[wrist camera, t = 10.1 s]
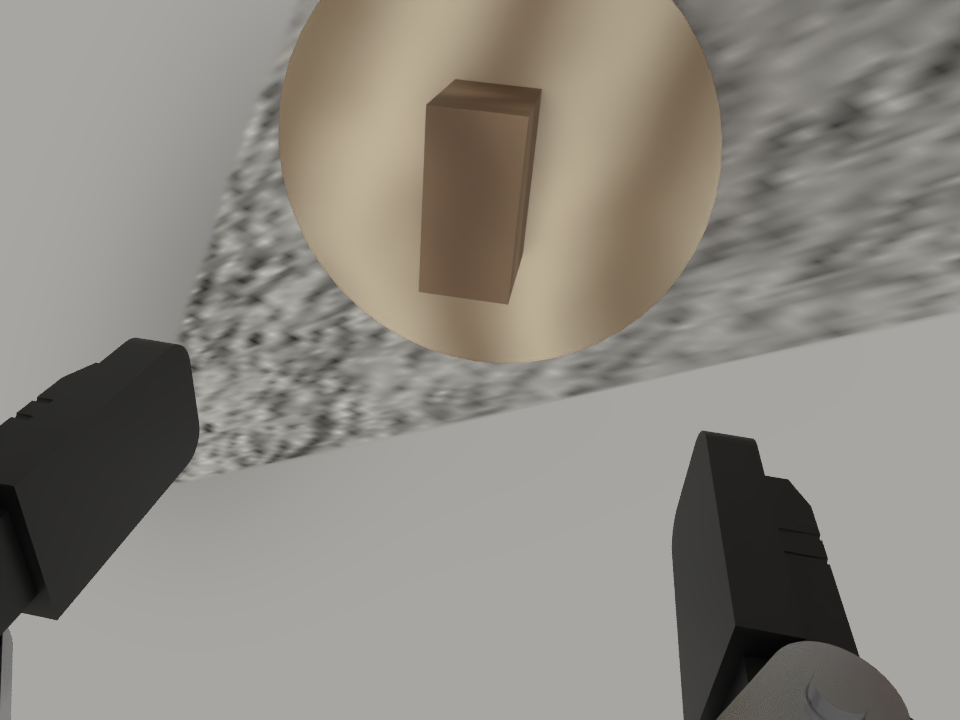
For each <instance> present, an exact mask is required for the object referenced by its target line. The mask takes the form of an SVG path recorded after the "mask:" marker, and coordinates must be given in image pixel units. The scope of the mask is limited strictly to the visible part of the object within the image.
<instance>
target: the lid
mask: <svg viewBox="0 0 960 720" xmlns="http://www.w3.org/2000/svg"><path fill="white" fill-rule="evenodd" d="M279 150H280V159H281V167H282V174H283V178H284V182H285V186H286V190H287V194H288V198H289V201H290V204H291V207H292V209H293V212H294V215H295V217H296V220H297V223H298V225H299V227H300V229H301V231H302V233H303V235H304V237H305V239H306V241H307V243H308V245H309V247H310V249H311V250H312V252H313V253H314V255H315V256H316V258H317V259H318V261H319V262H320V264H321V265H322V267H323V268H324V270H325V271H326V272H327V274H328V275H329V276H330V277H331V278H332V280H333V281H334V282H335V283H336V284H337V285H338V287H339V288H340V289H341V290H342V291H343V292H344V293H345V294H346V295H347V296H348V297H349V298H350V299H351V300H352V301H353V302H354V303H355V304H356V305H357V306H358V307H359V308H361V309H362V310H363V311H364V312H366V313H367V314H368V315H370V316H371V317H372V318H374V319H375V320H376V321H378V322H379V323H380V324H382V325H383V326H385V327H387V328H388V329H390V330H392V331H393V332H395V333H397V334H398V335H400V336H402V337H403V338H405V339H408V340H410V341H412V342H414V343H416V344H419V345H421V346H423V347H425V348H428V349H431V350H434V351H437V352H440V353H443V354H446V355H449V356H454V357H458V358H463V359H468V360H473V361H482V362H492V363H525V362H532V361H539V360H547V359H552V358H555V357H559V356H563V355H567V354H571V353H574V352H577V351H579V350H582V349H584V348H587V347H590V346H592V345H595V344H597V343H599V342H601V341H603V340H605V339H607V338H608V337H610V336H612V335H614V334H616V333H618V332H619V331H621V330H622V329H624V328H625V327H627V326H628V325H630V324H631V323H632V322H634V321H635V320H637V319H638V318H639V317H641V316H642V315H643V314H644V313H645V312H646V311H648V310H649V309H650V308H651V307H652V306H653V305H654V304H655V303H656V302H657V301H658V300H659V299H661V298H662V296H663V295H664V294H665V293H666V292H667V291H668V289H669V288H670V287H671V286H672V285H673V283H674V282H675V281H676V280H677V279H678V278H679V276H680V275H681V273H682V272H683V270H684V268H685V267H686V265H687V264H688V262H689V261H690V259H691V258H692V256H693V254H694V253H695V251H696V249H697V247H698V244H699V242H700V240H701V238H702V236H703V234H704V232H705V230H706V228H707V225H708V222H709V218H710V215H711V212H712V209H713V206H714V203H715V200H716V195H717V189H718V184H719V178H720V172H721V158H722V129H721V119H720V108H719V103H718V99H717V95H716V90H715V86H714V82H713V78H712V74H711V72H710V69H709V66H708V64H707V61H706V59H705V56H704V54H703V51H702V48H701V46H700V44H699V42H698V40H697V38H696V37H695V35H694V33H693V31H692V29H691V28H690V26H689V24H688V22H687V21H686V19H685V17H684V15H683V14H682V13H681V11H680V10H679V9H678V7H677V6H676V5H675V4H674V2H673V1H672V0H320V2H319V3H318V4H317V6H316V7H315V9H314V11H313V12H312V14H311V16H310V17H309V19H308V21H307V23H306V24H305V26H304V28H303V29H302V31H301V34H300V36H299V38H298V41H297V43H296V46H295V48H294V50H293V53H292V55H291V58H290V61H289V65H288V69H287V72H286V76H285V80H284V84H283V88H282V95H281V103H280V111H279Z"/></svg>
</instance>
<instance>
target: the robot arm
mask: <svg viewBox="0 0 960 720" xmlns="http://www.w3.org/2000/svg"><path fill="white" fill-rule="evenodd" d="M198 439H199V419H198V413H197V406H196V399H195V392H194V385H193V378H192V371H191V365H190V359H189V355H188V352H187V351H186V349H185V348H184V347H183V346H181V345H178V344H171V343H165V342H159V341H153V340H146V339H140V338H132V339H130V340H128V341H126V342H125V343H124V344H123V345H121V346H120V347H119V348H118V349H116V350H115V351H114V352H113V353H111V354H110V355H109V356H108V357H106V358H105V359H104V360H103V361H101V362H100V363H94V364H92V365H90V366H87V367H85V368H83V369H81V370H78V371H76V372H74V373H71V374H69V375H67V376H65V377H63V378H61V379H60V380H58V381H57V382H56V383H55V384H53V385H52V386H51V387H49V388H48V389H47V390H45V391H44V392H43V393H42V394H40V395H39V396H38V397H37V401H31V402H30V403H29V404H27V405H26V406H25V407H24V408H22V409H21V410H20V411H18V412H17V415H16V417H15V418H13V417H11V418H9V419H8V420H7V421H5V422H4V423H3V424H2V425H0V720H11V691H12V690H11V688H12V652H13V642H12V637H11V634H10V631H9V629H8V627H9V626H10V625H11V623H12V622H13V621H14V620H15V619H16V618H17V617H18V616H19V615H20V614H21V613H25V614H30V615H35V616H40V617H45V618H49V619H54V620H58V619H59V617H60V616H61V615H62V614H63V612H64V611H65V610H66V609H67V608H68V607H69V605H70V604H71V603H72V602H73V601H74V599H75V598H76V597H77V596H78V595H79V594H80V592H81V591H82V590H83V589H84V588H85V586H86V585H87V584H88V583H89V582H90V580H91V579H92V578H93V577H94V576H95V574H96V573H97V572H98V571H99V570H100V568H101V567H102V566H103V565H104V564H105V562H106V561H107V560H108V559H109V558H110V557H111V555H112V554H113V553H114V552H115V551H116V549H117V548H118V547H119V546H120V545H121V543H122V542H123V541H124V540H125V539H126V537H127V536H128V535H129V534H130V533H131V531H132V530H133V529H134V528H135V527H136V526H137V524H138V523H139V522H140V521H141V519H142V518H143V517H144V516H145V515H146V514H147V512H148V511H149V510H150V509H151V508H152V506H153V505H154V504H155V503H156V501H157V500H158V499H159V498H160V497H161V495H163V493H164V492H165V491H166V490H167V489H168V487H169V486H170V485H171V484H172V483H173V481H174V480H175V479H176V478H177V477H178V475H179V474H180V473H181V472H182V471H183V469H184V468H185V467H186V466H187V465H188V463H189V462H190V460H191V459H192V457H193V455H194V453H195V450H196V447H197V443H198ZM819 537H820V533H819V530H818V527H817V523H816V521H815V517H814V514H813V511H812V508H811V506H810V505H809V503H808V502H807V501H806V500H805V499H804V498H803V496H802V495H801V494H800V493H799V492H798V491H797V490H796V489H795V487H794V486H793V485H792V484H791V482H790V481H789V480H788V479H781V478H775V477H770V476H765V475H764V470H763V467H762V463H761V459H760V455H759V451H758V447H757V443H756V441H755V440H754V439H751V438H745V437H739V436H733V435H727V434H720V433H714V432H708V431H701V432H700V434H699V435H698V438H697V440H696V443H695V446H694V450H693V454H692V457H691V461H690V465H689V468H688V471H687V475H686V478H685V482H684V485H683V489H682V492H681V496H680V500H679V503H678V507H677V511H676V515H675V520H674V527H673V536H672V559H673V573H674V587H675V601H676V616H677V628H678V643H679V658H680V672H681V686H682V699H683V714H684V720H913V719H912V718H910V716H909V713H908V710H907V707H906V706H905V704H904V702H903V700H902V698H901V696H900V695H899V693H898V692H897V690H896V689H895V688H894V687H893V685H892V684H891V683H890V682H889V681H888V680H887V679H886V678H885V677H884V676H883V675H882V674H881V673H880V672H879V671H878V670H877V669H876V668H874V667H873V666H872V665H870V664H869V663H868V662H866V661H865V660H863V659H862V658H860V657H859V654H858V651H857V648H856V645H855V642H854V639H853V636H852V632H851V629H850V626H849V623H848V620H847V617H846V614H845V610H844V607H843V604H842V601H841V598H840V595H839V592H838V589H837V586H836V582H835V579H834V576H833V573H832V570H831V567H830V565H828V564H827V560H828V558H827V555H826V551H825V548H824V545H823V542H822V541H821V540H820V539H819Z"/></svg>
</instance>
